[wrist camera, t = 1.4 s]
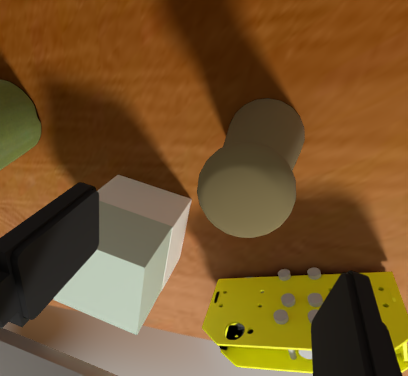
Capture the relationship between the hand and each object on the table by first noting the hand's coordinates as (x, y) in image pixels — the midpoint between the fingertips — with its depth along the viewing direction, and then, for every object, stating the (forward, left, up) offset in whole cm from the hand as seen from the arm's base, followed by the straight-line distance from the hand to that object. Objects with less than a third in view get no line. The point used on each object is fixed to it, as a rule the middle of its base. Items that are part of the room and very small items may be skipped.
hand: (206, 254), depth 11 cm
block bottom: (+8, +12, -15) cm, 21 cm away
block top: (+8, +12, -10) cm, 18 cm away
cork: (-1, 0, -15) cm, 15 cm away
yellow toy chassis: (-8, +14, -15) cm, 22 cm away
